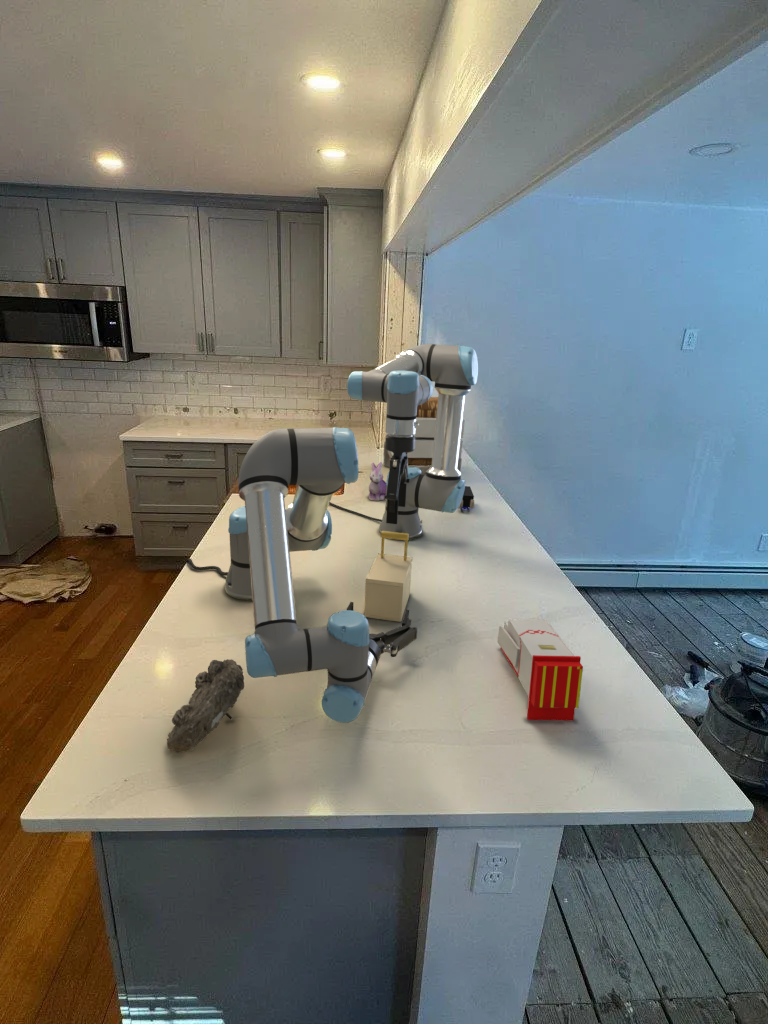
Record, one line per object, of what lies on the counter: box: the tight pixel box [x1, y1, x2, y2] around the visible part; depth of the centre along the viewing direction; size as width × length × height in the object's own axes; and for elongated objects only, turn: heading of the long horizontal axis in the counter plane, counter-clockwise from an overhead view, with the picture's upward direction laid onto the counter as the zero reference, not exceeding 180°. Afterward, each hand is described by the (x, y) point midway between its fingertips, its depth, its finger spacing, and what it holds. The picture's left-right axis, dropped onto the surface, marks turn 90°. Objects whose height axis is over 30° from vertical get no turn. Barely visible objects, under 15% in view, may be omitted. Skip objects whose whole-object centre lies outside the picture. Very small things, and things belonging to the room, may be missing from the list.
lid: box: [365, 531, 413, 587], centre depth 147 cm, size 16×10×9 cm, turn 169°
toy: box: [497, 618, 584, 722], centre depth 122 cm, size 12×13×30 cm
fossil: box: [166, 658, 245, 754], centre depth 106 cm, size 22×10×15 cm
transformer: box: [382, 396, 465, 474], centre depth 268 cm, size 34×33×41 cm
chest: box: [363, 563, 413, 623], centre depth 150 cm, size 15×10×10 cm, turn 169°
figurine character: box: [458, 485, 475, 513], centre depth 228 cm, size 7×8×15 cm
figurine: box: [367, 461, 387, 502], centre depth 234 cm, size 9×10×15 cm
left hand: (379, 610), depth 136 cm, fingers open, 13 cm apart
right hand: (396, 514), depth 149 cm, fingers open, 13 cm apart
